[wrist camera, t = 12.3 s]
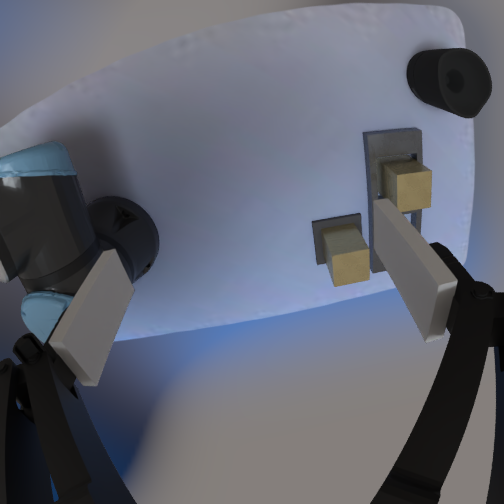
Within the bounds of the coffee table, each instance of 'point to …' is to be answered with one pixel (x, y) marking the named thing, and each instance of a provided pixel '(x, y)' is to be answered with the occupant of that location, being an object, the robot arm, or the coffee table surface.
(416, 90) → the pen holder
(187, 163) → the coffee table surface
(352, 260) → the tan textured cube
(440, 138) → the coffee table surface
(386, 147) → the rail
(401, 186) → the block
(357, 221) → the rubber pad
